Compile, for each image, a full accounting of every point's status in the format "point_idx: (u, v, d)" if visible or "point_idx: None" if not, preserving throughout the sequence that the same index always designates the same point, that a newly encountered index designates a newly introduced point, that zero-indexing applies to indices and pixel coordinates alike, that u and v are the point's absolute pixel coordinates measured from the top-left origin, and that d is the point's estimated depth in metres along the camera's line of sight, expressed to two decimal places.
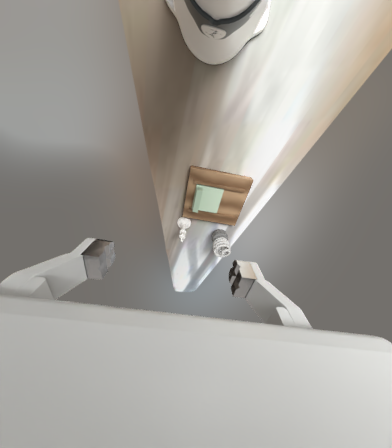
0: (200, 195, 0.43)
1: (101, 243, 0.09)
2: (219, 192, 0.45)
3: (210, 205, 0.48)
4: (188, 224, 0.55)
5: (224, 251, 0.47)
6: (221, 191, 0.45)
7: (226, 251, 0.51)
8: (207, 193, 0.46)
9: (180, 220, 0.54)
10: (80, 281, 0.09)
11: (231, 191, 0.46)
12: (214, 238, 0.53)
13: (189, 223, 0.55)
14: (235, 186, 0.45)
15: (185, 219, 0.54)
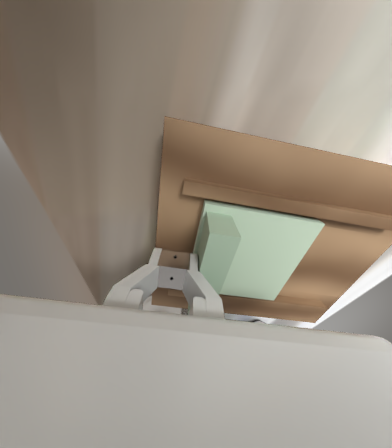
0: (227, 258, 0.08)
1: (169, 253, 0.10)
2: (301, 235, 0.11)
3: (255, 279, 0.13)
4: None
5: None
6: (312, 230, 0.10)
7: None
8: (250, 238, 0.11)
9: (150, 305, 0.18)
10: (153, 290, 0.09)
11: (339, 228, 0.11)
12: None
13: (177, 311, 0.19)
14: (364, 206, 0.11)
15: None
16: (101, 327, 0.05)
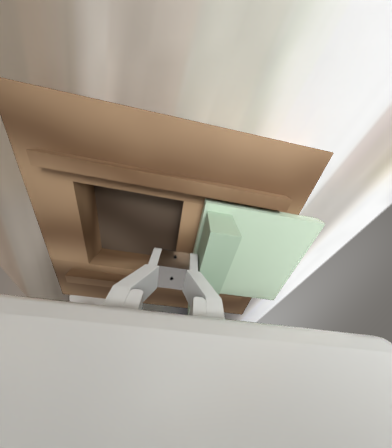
0: (227, 257, 0.08)
1: (169, 253, 0.10)
2: (301, 235, 0.11)
3: (255, 278, 0.13)
4: None
5: None
6: (312, 230, 0.10)
7: None
8: (250, 238, 0.11)
9: (74, 296, 0.18)
10: (153, 290, 0.09)
11: None
12: None
13: None
14: (245, 184, 0.10)
15: None
16: (101, 327, 0.05)
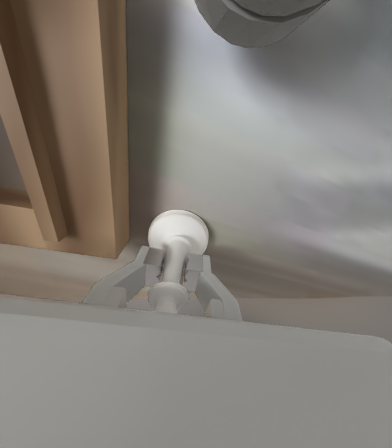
0: None
1: (156, 251, 0.10)
2: None
3: None
4: (177, 226, 0.11)
5: None
6: None
7: None
8: None
9: None
10: (139, 288, 0.09)
11: None
12: None
13: (172, 221, 0.11)
14: None
15: (152, 236, 0.12)
16: (101, 327, 0.05)
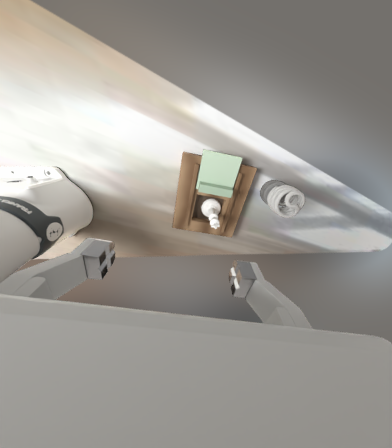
0: (206, 187, 0.32)
1: (101, 243, 0.09)
2: (207, 156, 0.31)
3: (227, 168, 0.32)
4: (212, 203, 0.38)
5: (287, 203, 0.27)
6: (205, 153, 0.31)
7: None
8: (208, 174, 0.33)
9: (204, 213, 0.40)
10: (80, 281, 0.09)
11: None
12: None
13: (211, 201, 0.38)
14: (191, 176, 0.34)
15: (204, 206, 0.39)
16: (101, 327, 0.05)
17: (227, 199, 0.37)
